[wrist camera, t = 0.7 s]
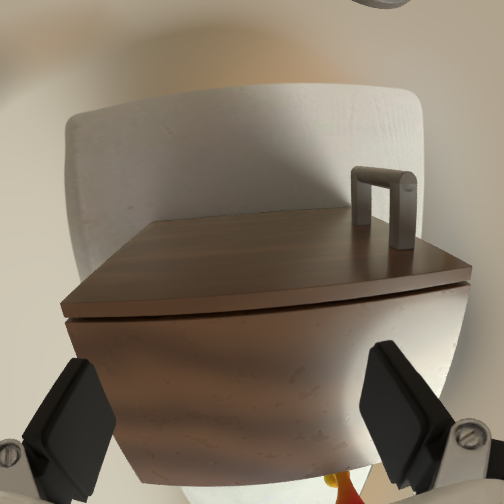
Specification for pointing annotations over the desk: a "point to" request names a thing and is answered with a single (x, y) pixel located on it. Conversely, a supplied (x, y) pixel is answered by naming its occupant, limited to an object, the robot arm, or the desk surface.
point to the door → (271, 258)
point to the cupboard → (260, 383)
